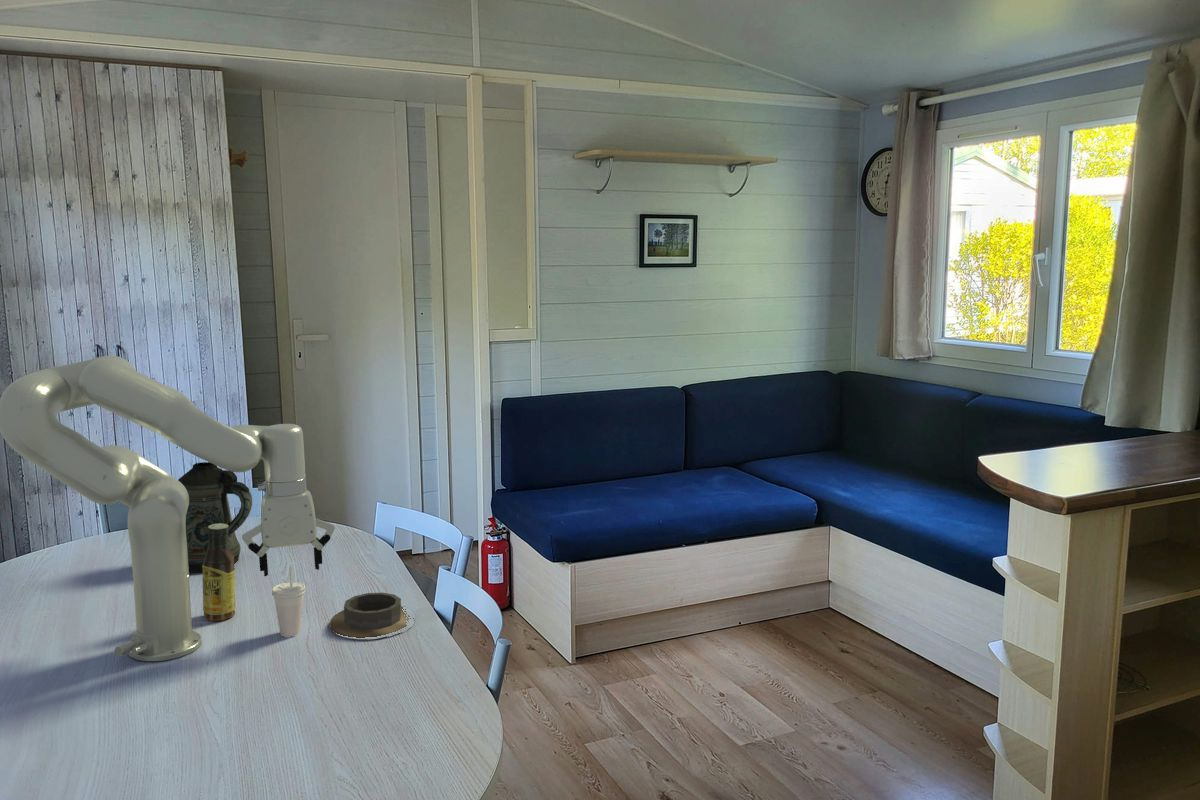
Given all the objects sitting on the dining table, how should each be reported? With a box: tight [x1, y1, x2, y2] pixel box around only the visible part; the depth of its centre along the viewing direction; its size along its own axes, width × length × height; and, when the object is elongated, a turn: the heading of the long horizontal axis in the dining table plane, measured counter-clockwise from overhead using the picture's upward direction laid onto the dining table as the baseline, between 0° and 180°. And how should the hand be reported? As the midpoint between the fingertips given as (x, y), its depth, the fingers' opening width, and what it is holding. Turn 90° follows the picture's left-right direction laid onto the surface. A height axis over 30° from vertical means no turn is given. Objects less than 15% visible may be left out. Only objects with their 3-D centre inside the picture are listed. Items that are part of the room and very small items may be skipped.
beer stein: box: [177, 461, 253, 574], centre depth 219 cm, size 16×19×25 cm
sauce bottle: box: [201, 523, 236, 622], centre depth 185 cm, size 6×6×20 cm
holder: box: [329, 591, 414, 638], centre depth 184 cm, size 17×17×4 cm
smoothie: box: [271, 566, 307, 638], centre depth 178 cm, size 6×6×14 cm
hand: (291, 570), depth 177 cm, fingers open, 9 cm apart
